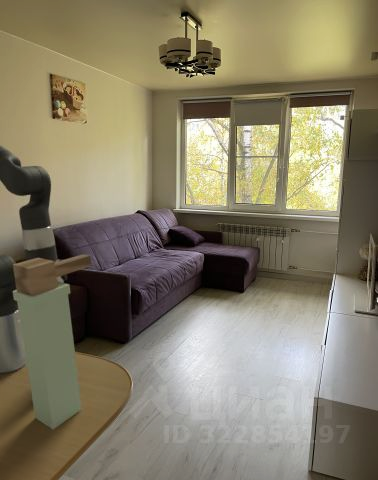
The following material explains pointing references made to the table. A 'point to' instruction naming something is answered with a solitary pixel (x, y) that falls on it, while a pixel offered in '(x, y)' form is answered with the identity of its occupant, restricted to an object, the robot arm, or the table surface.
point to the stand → (50, 354)
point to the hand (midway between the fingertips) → (49, 303)
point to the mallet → (45, 273)
